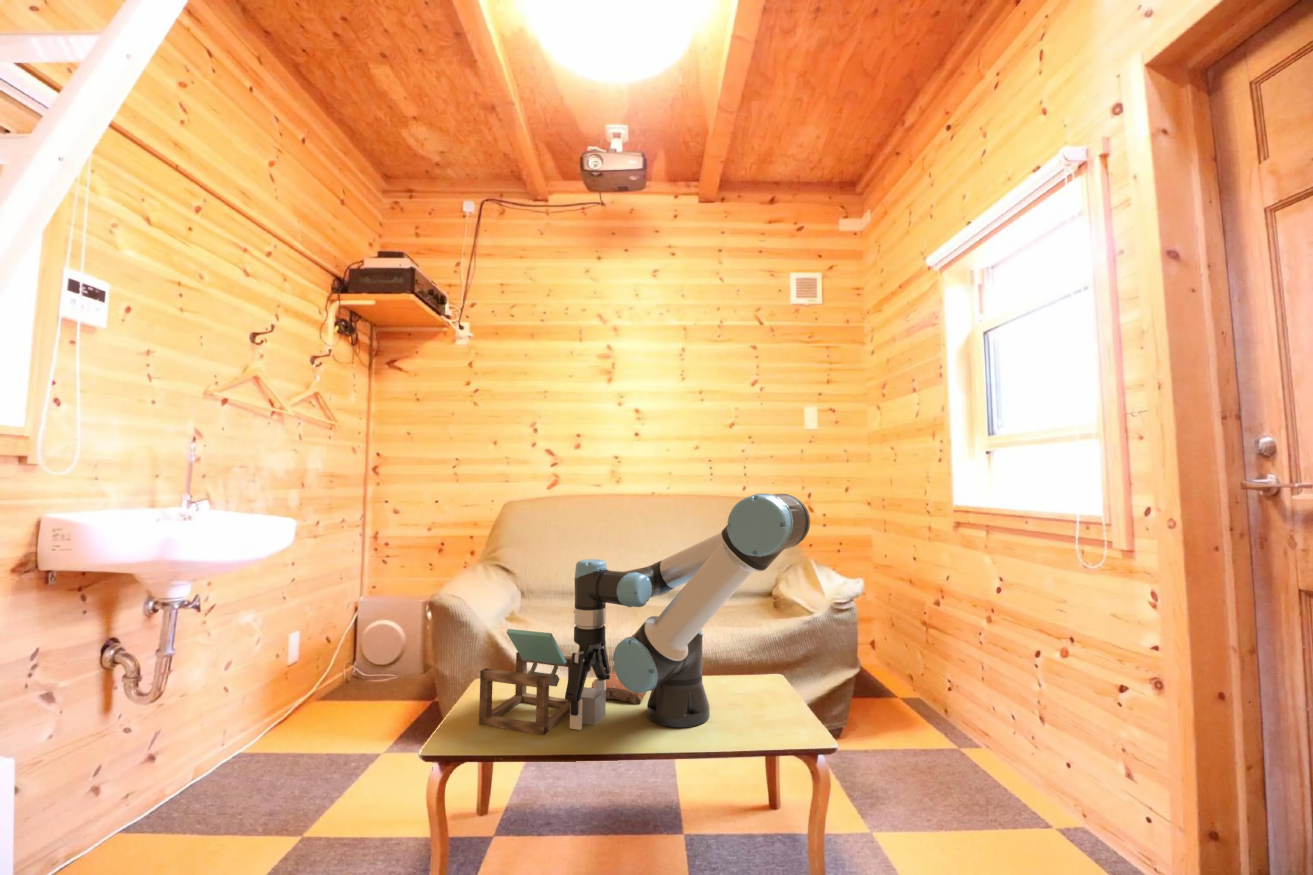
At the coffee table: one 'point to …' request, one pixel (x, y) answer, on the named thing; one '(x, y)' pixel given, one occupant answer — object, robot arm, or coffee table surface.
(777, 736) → the coffee table surface
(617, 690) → the ceramic shard
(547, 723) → the frame
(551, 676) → the trapdoor
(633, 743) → the coffee table surface
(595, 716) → the gray cube
